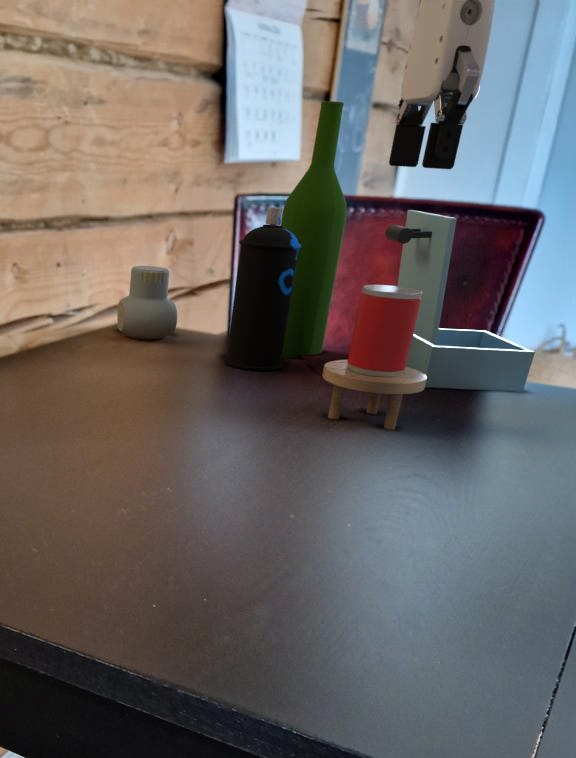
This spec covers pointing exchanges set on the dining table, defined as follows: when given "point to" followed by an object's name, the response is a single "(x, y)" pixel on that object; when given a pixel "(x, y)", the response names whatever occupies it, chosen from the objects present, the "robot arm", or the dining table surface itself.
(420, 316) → the lid
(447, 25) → the robot arm
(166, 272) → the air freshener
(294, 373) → the dining table surface
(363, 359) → the drink can
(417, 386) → the stool
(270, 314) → the aerosol can
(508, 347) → the pale blue open box
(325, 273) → the wine bottle
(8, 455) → the dining table surface
